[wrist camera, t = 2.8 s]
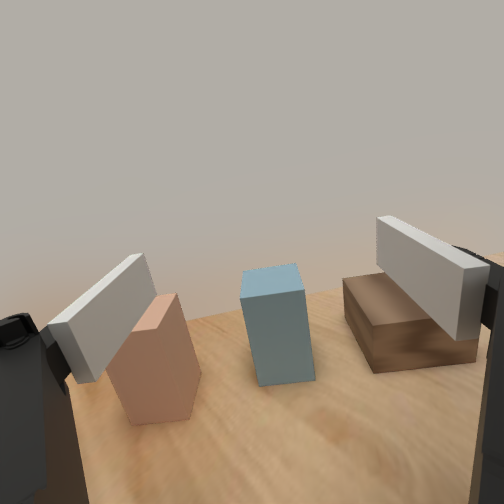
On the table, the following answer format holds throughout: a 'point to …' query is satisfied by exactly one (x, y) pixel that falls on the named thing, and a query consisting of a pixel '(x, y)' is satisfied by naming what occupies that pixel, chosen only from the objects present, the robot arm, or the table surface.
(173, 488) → the table surface
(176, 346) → the clay brick
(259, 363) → the blue brick
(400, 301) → the base block
